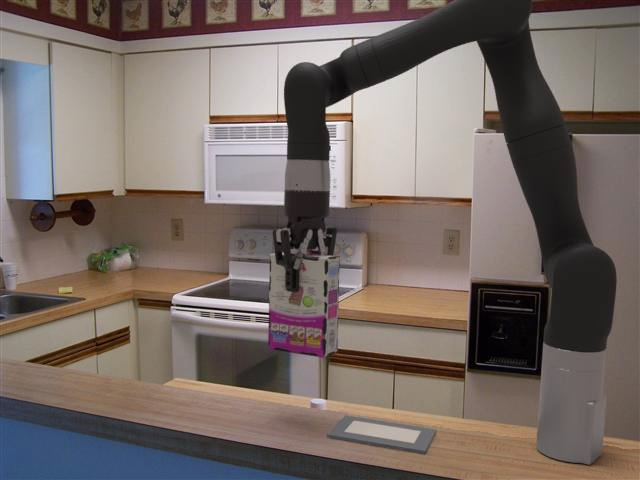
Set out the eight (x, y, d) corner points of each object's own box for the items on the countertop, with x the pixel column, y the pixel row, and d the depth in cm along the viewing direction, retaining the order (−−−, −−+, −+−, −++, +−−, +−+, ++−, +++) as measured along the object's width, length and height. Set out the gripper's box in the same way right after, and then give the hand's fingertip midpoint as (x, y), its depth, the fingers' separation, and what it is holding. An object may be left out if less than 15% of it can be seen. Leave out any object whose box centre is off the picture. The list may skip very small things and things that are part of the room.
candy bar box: (338, 352, 114) (341, 255, 112) (325, 359, 110) (327, 258, 108) (281, 343, 119) (283, 250, 118) (266, 349, 115) (268, 252, 113)
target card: (436, 432, 114) (436, 428, 114) (425, 454, 105) (425, 450, 104) (345, 417, 119) (345, 414, 119) (326, 437, 110) (327, 433, 110)
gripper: (295, 188, 104) (292, 297, 106) (351, 189, 115) (348, 288, 117) (260, 187, 109) (258, 291, 110) (317, 188, 120) (314, 282, 121)
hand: (304, 289), depth 113 cm, fingers closed on candy bar box, 5 cm apart
